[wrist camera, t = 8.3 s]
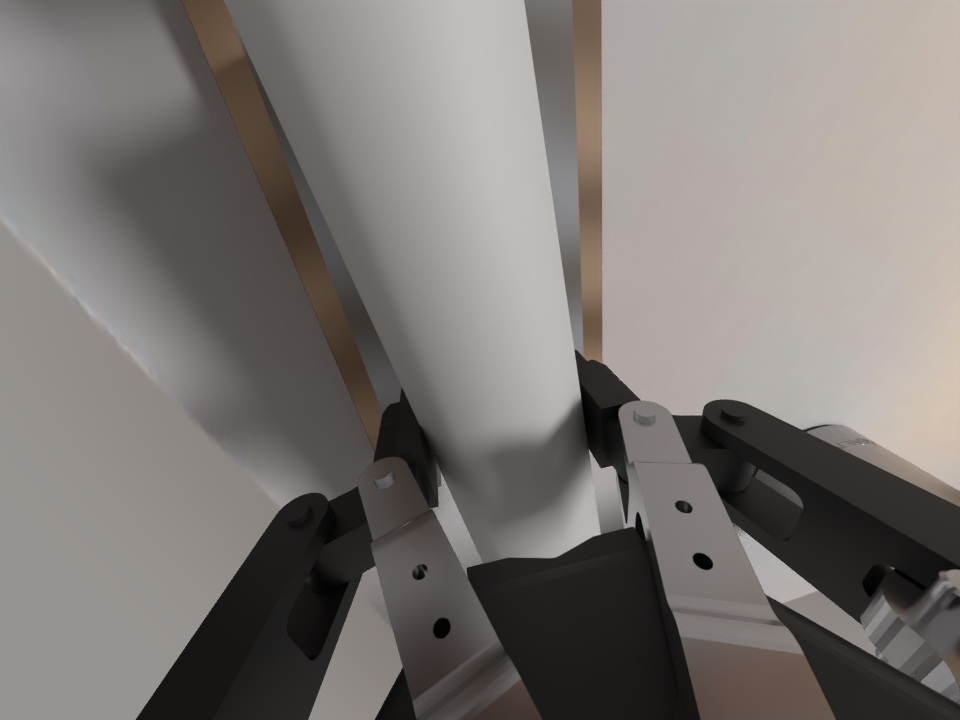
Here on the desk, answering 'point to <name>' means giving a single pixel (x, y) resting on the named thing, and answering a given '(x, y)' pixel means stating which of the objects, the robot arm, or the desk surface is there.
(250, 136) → the pipe rack
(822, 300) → the desk surface
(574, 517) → the tube
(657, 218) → the desk surface
